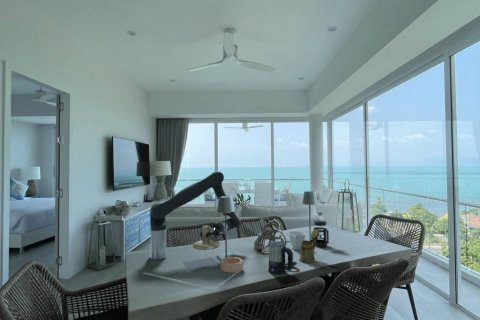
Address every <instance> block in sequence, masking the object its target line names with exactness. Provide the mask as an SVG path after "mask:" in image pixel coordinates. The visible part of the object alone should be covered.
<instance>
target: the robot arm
mask: <svg viewBox="0 0 480 320" xmlns="http://www.w3.org/2000/svg"><path fill="white" fill-rule="evenodd" d="M224 179H225V176H224V174H223V172H221V171H218V170H217V171H213V172H212V173H210V175H208V176H206V177H205V178H203V179H200V181H199V180H198V181H197V182H195V183H193V184H190V185H188V186H186V187H185V188H182V189H181V190H180V191H178V192H177V193H176V194H175V195H173V197H171V198H170V199H167V200H165V201H163V202H155V203H153V204H152V205H151V207H150V212H149V213H150V214H149V219H150V220H149V224H150V241H149V258H150V260H152V261H153V260H155V261H156V260H158V261H159V260H162V259H165V258H167V222H166V217H167V216H168V215H169V214H171V213H172V212H174V211H175V210H176V209H178V208H181V207H183V206H184V205H186V204H188V203H191V202H192V201H194V200H196V199H197V198H198V197H200V196H201V195H203V194H204V193H205V192H207V191H208V190H210V189H212V190H213V192H214V194H215V196H216V198H217V200H218V199H219V197H221V196H227V194H226V193H225V190H224V189H223V185H222V183H223V182H224ZM222 215H223V216H225V213H222ZM226 216H227V217H229V218H226V219H224V220H222V221H218V222H216V223H213V224H212V225H210V232H208V233H206V237H209V236H210V237H220V236H222V235H223V234H225V233H227V232H229V231H230V230H233V229H236V228H239V227H240V225H241V224H240V223H241V221H240V218H239V217H238V215H236V213H235V211H234V212H231V213H226ZM226 216H225V217H226ZM225 220H226V230H225ZM199 237H202V229H201V231H200V233H199Z"/></svg>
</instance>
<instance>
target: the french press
mask: <svg viewBox="0 0 480 320" xmlns="http://www.w3.org/2000/svg"><path fill="white" fill-rule="evenodd" d="M316 214H317V215H319V217H321V216H322V215H323V214H324V213H323V212H317V213H316ZM327 223H328V221H326V220H321V219H319V220H314V221H313V225H314V226H316V227H313V230H315V229H319V231H320V233H319V236H318V237H317V238H316V239H315V242H316V245H315V248H319V249H323V248H325V249H326V248H328V244H330V241H329V239H330V238H329V237H330V235H329V230H328V229H327V228H325V226H327ZM321 233H323V235H321Z"/></svg>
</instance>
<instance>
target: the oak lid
mask: <svg viewBox="0 0 480 320" xmlns="http://www.w3.org/2000/svg"><path fill="white" fill-rule="evenodd" d="M210 227H211V225H208V224H205V225H203V226H202V227H201V228H202V229H201V230H202V238H201V239H202V240H198V241H196V242H193V243H192V248H193V249H195V250H198V251H210V250H215V249H218V248H220V245H221V244H220V242H219V241H217V240H214V239H213V240H212V239H211V236H209V237H206V233H208V232H210Z"/></svg>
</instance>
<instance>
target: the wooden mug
mask: <svg viewBox="0 0 480 320" xmlns="http://www.w3.org/2000/svg"><path fill="white" fill-rule="evenodd" d="M319 230H320V229H315V230H314V229H313V230H312V232H311V234H310V239H308V240H307V239H306V240H303V241H302V243H301V249H300V256H299V261H300V262H301V263H305V264H312V263H315V262H316V258H315V253H314V251H315V248H316V247H315V245H316V242H315V239H316V238H317V237H318V236H319V235H320V231H319Z"/></svg>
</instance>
